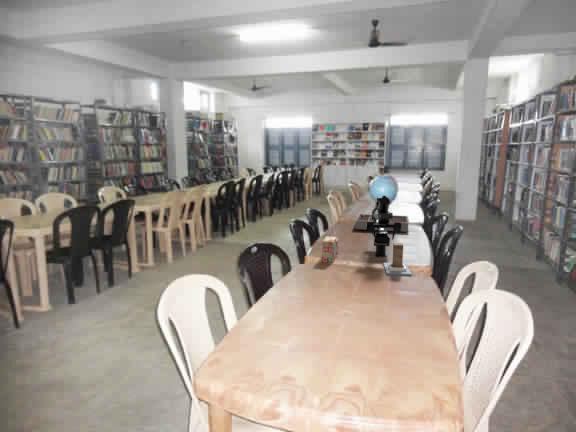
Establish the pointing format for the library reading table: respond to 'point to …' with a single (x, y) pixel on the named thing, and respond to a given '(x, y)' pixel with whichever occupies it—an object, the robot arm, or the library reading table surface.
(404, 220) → the organizer tray
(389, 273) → the blueprint board
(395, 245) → the walnut column
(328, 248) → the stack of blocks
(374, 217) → the robot arm
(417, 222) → the library reading table surface
